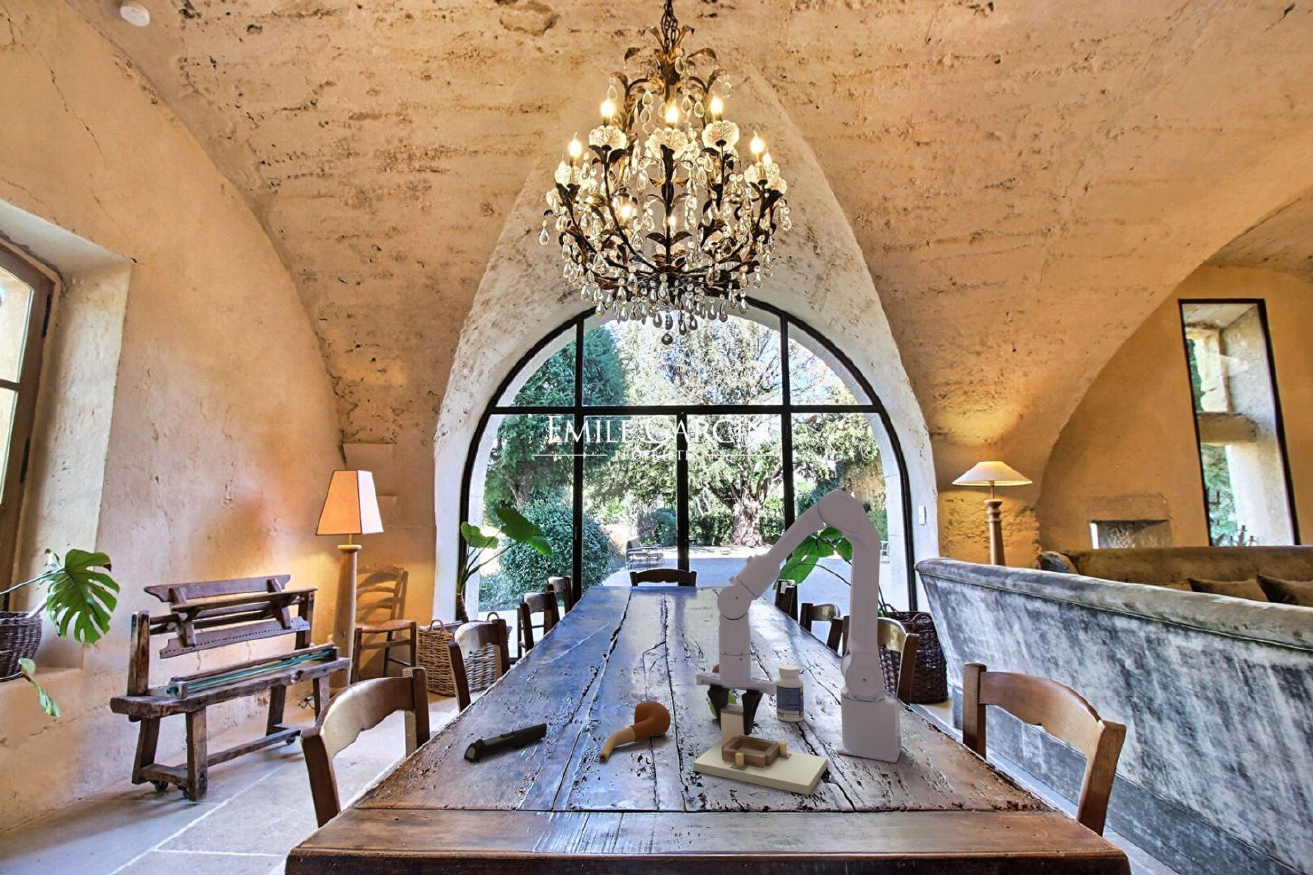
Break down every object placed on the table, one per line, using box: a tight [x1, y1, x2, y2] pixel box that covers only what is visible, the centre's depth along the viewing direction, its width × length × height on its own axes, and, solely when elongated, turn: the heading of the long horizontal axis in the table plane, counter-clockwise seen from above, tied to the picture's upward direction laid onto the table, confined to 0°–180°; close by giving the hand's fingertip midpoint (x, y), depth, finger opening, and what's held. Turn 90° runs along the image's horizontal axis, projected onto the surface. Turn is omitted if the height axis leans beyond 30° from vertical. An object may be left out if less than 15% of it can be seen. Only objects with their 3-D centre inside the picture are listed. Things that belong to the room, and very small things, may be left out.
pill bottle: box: [775, 664, 805, 723], centre depth 121 cm, size 5×5×10 cm
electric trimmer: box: [463, 722, 548, 764], centre depth 103 cm, size 4×15×3 cm, turn 136°
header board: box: [692, 733, 829, 796], centre depth 95 cm, size 18×12×3 cm, turn 62°
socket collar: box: [722, 735, 779, 768], centre depth 97 cm, size 8×8×2 cm
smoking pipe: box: [598, 700, 672, 763], centre depth 105 cm, size 7×18×6 cm, turn 154°
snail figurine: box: [708, 663, 738, 718], centre depth 120 cm, size 5×6×12 cm
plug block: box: [720, 703, 751, 740], centre depth 108 cm, size 4×4×6 cm
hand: (735, 731), depth 108 cm, fingers closed on plug block, 4 cm apart
